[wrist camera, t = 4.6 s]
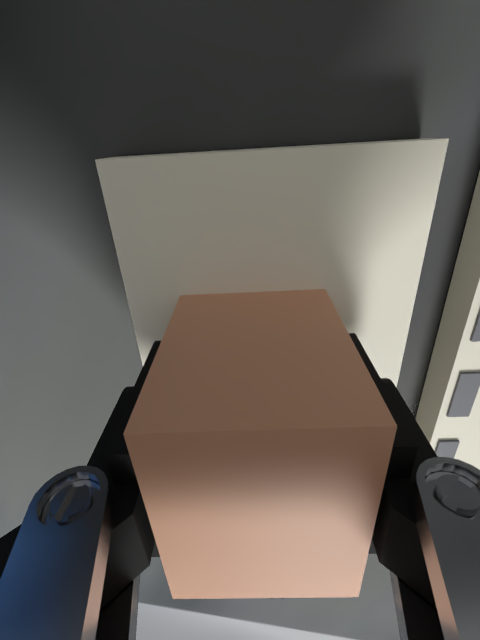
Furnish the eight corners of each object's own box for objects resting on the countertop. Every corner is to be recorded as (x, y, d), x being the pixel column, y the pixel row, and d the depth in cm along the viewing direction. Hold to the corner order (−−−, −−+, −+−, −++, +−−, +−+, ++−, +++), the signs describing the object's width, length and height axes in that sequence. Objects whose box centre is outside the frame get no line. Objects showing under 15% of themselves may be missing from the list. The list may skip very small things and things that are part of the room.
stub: (423, 138, 9) (734, 141, 3) (365, 461, 14) (440, 661, 9) (112, 156, 9) (-99, 188, 3) (177, 466, 15) (136, 663, 9)
